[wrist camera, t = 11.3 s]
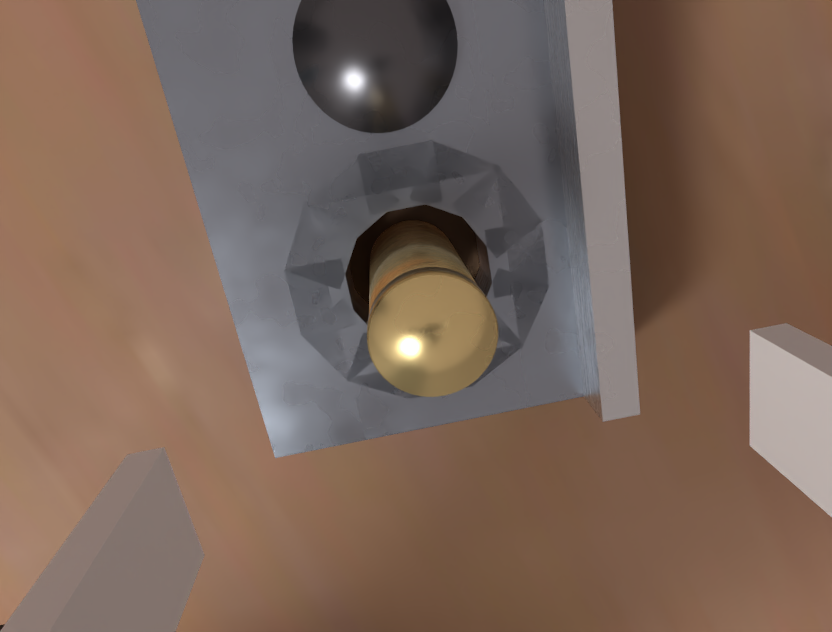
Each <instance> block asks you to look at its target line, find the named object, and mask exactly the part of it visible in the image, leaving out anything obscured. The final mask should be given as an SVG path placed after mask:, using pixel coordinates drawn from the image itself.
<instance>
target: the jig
mask: <svg viewBox="0 0 832 632" xmlns="http://www.w3.org/2000/svg"><path fill="white" fill-rule="evenodd" d="M136 2H137V5H138V8H139V12H140V15H141V18H142V22H143V25H144V28H145V31H146V35H147V38H148V41H149V45H150V48H151V51H152V54H153V58H154V61H155V64H156V68H157V71H158V74H159V77H160V81H161V84H162V87H163V91H164V94H165V97H166V100H167V104H168V107H169V110H170V114H171V117H172V120H173V123H174V127H175V130H176V133H177V137H178V140H179V143H180V146H181V150H182V153H183V156H184V160H185V163H186V166H187V169H188V173H189V176H190V179H191V183H192V186H193V189H194V192H195V196H196V199H197V202H198V206H199V209H200V212H201V215H202V219H203V222H204V225H205V229H206V232H207V235H208V238H209V242H210V245H211V248H212V252H213V255H214V258H215V261H216V265H217V268H218V271H219V275H220V278H221V281H222V284H223V288H224V291H225V294H226V298H227V301H228V304H229V307H230V311H231V314H232V317H233V321H234V324H235V327H236V330H237V334H238V337H239V340H240V344H241V347H242V350H243V353H244V357H245V360H246V363H247V367H248V370H249V373H250V376H251V380H252V383H253V386H254V390H255V393H256V396H257V400H258V403H259V406H260V409H261V413H262V416H263V419H264V423H265V426H266V429H267V432H268V436H269V439H270V442H271V446H272V449H273V452H274V455H275V458H277V457H282V456H287V455H292V454H297V453H302V452H307V451H312V450H317V449H322V448H327V447H332V446H337V445H342V444H347V443H352V442H357V441H362V440H367V439H372V438H377V437H383V436H388V435H393V434H398V433H403V432H408V431H413V430H418V429H423V428H428V427H433V426H438V425H443V424H448V423H453V422H458V421H463V420H468V419H473V418H478V417H483V416H488V415H493V414H498V413H503V412H508V411H513V410H518V409H523V408H528V407H533V406H538V405H543V404H548V403H553V402H558V401H563V400H568V399H573V398H578V397H583V396H584V397H585V399H586V400H587V401H588V403H589V404H590V405H591V407H592V408H593V409H594V411H595V412H596V413H597V414H598V416H599V417H600V418H601V420H602V421H603V422H604V421H609V420H614V419H619V418H624V417H629V416H634V415H639V414H640V405H639V390H638V375H637V360H636V345H635V331H634V316H633V301H632V286H631V271H630V257H629V242H628V227H627V212H626V197H625V183H624V168H623V153H622V138H621V123H620V109H619V94H618V79H617V64H616V49H615V35H614V20H613V5H612V0H136ZM425 204H426V205H429V206H432V207H435V208H438V209H441V210H443V211H446V212H449V213H452V214H455V215H458V216H461V217H462V218H463V219H464V220H465V221H466V223H467V224H468V225H469V226H470V227H471V229H472V230H473V231H474V232H475V236H476V243H477V249H478V256H479V262H480V267H479V270H478V273H477V275H476V278H475V280H474V281H475V282H476V284H477V285H478V286H479V287H480V289H481V290H482V291H483V293H484V294H485V296H486V297H487V299H488V300H489V302H490V304H491V306H492V307H493V309H494V312H495V315H496V318H497V323H498V343H497V348H496V351H495V354H494V357H493V359H492V361H491V363H490V364H489V366H488V367H487V369H486V370H485V371H484V372H483V374H482V375H481V376H480V377H479V378H478V379H477V380H475V381H474V382H473V383H472V384H470V385H469V386H467V387H465V388H464V389H462V390H460V391H457V392H455V393H452V394H448V395H444V396H437V397H424V396H417V395H413V394H409V393H407V392H404V391H402V390H400V389H398V388H396V387H395V386H393V385H392V384H390V383H389V382H388V381H387V380H386V379H384V378H383V376H382V375H381V374H380V373H379V372H378V370H377V369H376V367H375V366H374V364H373V361H372V359H371V357H370V354H369V350H368V344H367V323H368V316H369V305H368V304H367V303H366V302H365V300H364V299H363V298H362V297H361V296H360V295H359V294H358V293H357V292H356V291H355V287H354V283H353V279H352V274H351V270H350V265H349V261H350V258H351V255H352V252H353V248H354V245H355V242H356V239H357V238H358V237H359V236H360V235H361V234H362V233H363V232H364V231H365V230H367V229H368V228H369V227H370V226H371V225H372V224H373V223H375V222H376V221H377V220H378V219H379V218H380V217H381V216H383V215H384V214H385V213H386V212H389V211H394V210H399V209H404V208H409V207H414V206H420V205H425Z"/></svg>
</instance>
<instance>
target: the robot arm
mask: <svg viewBox="0 0 832 632" xmlns="http://www.w3.org/2000/svg"><path fill="white" fill-rule="evenodd" d="M750 446H751V447H752V448H753V449H754V450H755V451H756V452H758V453H759V454H760V455H761V456H762V457H763V458H764V459H766V460H767V461H768V462H769V463H770V464H771V465H772V466H774V467H775V468H776V469H777V470H778V471H779V472H780V473H782V474H783V475H784V476H785V477H786V478H787V479H788V480H790V481H791V482H792V483H793V484H794V485H795V486H796V487H798V488H799V489H800V490H801V491H802V492H803V493H804V494H806V495H807V496H808V497H809V498H810V499H811V500H812V501H814V502H815V503H816V504H817V505H818V506H819V507H820V508H822V509H823V510H824V511H825V512H826V513H827V514H828V515H830V516H831V517H832V346H831V345H829V344H827V343H825V342H823V341H821V340H819V339H817V338H815V337H813V336H811V335H809V334H807V333H805V332H803V331H801V330H799V329H797V328H795V327H793V326H791V325H789V324H787V323H785V324H780V325H775V326H770V327H765V328H759V329H754V330H750ZM203 558H204V553H203V550H202V547H201V544H200V542H199V539H198V536H197V534H196V531H195V528H194V526H193V523H192V520H191V518H190V515H189V512H188V510H187V507H186V504H185V502H184V499H183V496H182V494H181V491H180V488H179V486H178V483H177V480H176V478H175V475H174V472H173V469H172V467H171V464H170V461H169V459H168V456H167V453H166V451H165V448H164V447H163V448H158V449H153V450H148V451H143V452H138V453H133V454H128V455H127V456H126V457H125V458H124V460H123V461H122V462H121V464H120V465H119V467H118V468H117V469H116V471H115V472H114V474H113V475H112V476H111V478H110V479H109V481H108V482H107V483H106V485H105V486H104V488H103V489H102V490H101V492H100V493H99V494H98V496H97V497H96V499H95V500H94V501H93V503H92V504H91V506H90V507H89V508H88V510H87V511H86V513H85V514H84V515H83V517H82V518H81V520H80V521H79V522H78V524H77V525H76V526H75V528H74V529H73V531H72V532H71V533H70V535H69V536H68V538H67V539H66V540H65V542H64V543H63V545H62V546H61V547H60V549H59V550H58V552H57V553H56V554H55V556H54V557H53V558H52V560H51V561H50V563H49V564H48V565H47V567H46V568H45V570H44V571H43V572H42V574H41V575H40V577H39V578H38V579H37V581H36V582H35V583H34V585H33V586H32V588H31V589H30V590H29V592H28V593H27V595H26V596H25V597H24V599H23V600H22V602H21V603H20V604H19V606H18V607H17V609H16V610H15V611H14V613H13V614H12V615H11V617H10V618H9V620H8V621H7V622H6V624H4V625H0V632H175V631H176V629H177V626H178V624H179V621H180V618H181V616H182V613H183V610H184V608H185V605H186V602H187V600H188V597H189V595H190V592H191V589H192V587H193V584H194V581H195V579H196V576H197V573H198V571H199V568H200V566H201V563H202V560H203Z"/></svg>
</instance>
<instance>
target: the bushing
mask: <svg viewBox="0 0 832 632" xmlns="http://www.w3.org/2000/svg"><path fill="white" fill-rule="evenodd" d="M497 343H498V323H497V318H496V315H495V312H494V309H493V307H492V306H491V304H490V302H489V300H488V299H487V297H486V296H485V294H484V293H483V291H482V290H481V289H480V287H479V286H478V285H477V284H476V282H475V281H474V279H473V278H472V276H471V274H470V273H469V271H468V269H467V268H466V266H465V265H464V263H463V261H462V260H461V258H460V256H459V255H458V253H457V252H456V250H455V248H454V247H453V245H452V244H451V242H450V240H449V239H448V237H447V236H446V235H445V234H444V233H443V232H442V231H441V230H440V229H439V228H437V227H436V226H434V225H432V224H430V223H428V222H424V221H419V220H407V221H402V222H399V223H396V224H394V225H392V226H390V227H389V228H387V229H386V230H385V231H384V232H383V233H382V234H381V235H380V236H379V237H378V239H377V240H376V242H375V244H374V246H373V248H372V251H371V255H370V286H369V316H368V323H367V344H368V350H369V354H370V357H371V359H372V361H373V364H374V366H375V367H376V369H377V370H378V372H379V373H380V374H381V375H382V376H383V378H384V379H386V380H387V381H388V382H389V383H390V384H392V385H393V386H395V387H396V388H398V389H400V390H402V391H404V392H407V393H409V394H413V395H417V396H424V397H437V396H444V395H448V394H452V393H455V392H457V391H460V390H462V389H464V388H465V387H467V386H469V385H470V384H472V383H473V382H474V381H475V380H477V379H478V378H479V377H480V376H481V375H482V374H483V372H484V371H485V370H486V369H487V367H488V366H489V364H490V363H491V361H492V359H493V357H494V354H495V351H496V348H497Z"/></svg>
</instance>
